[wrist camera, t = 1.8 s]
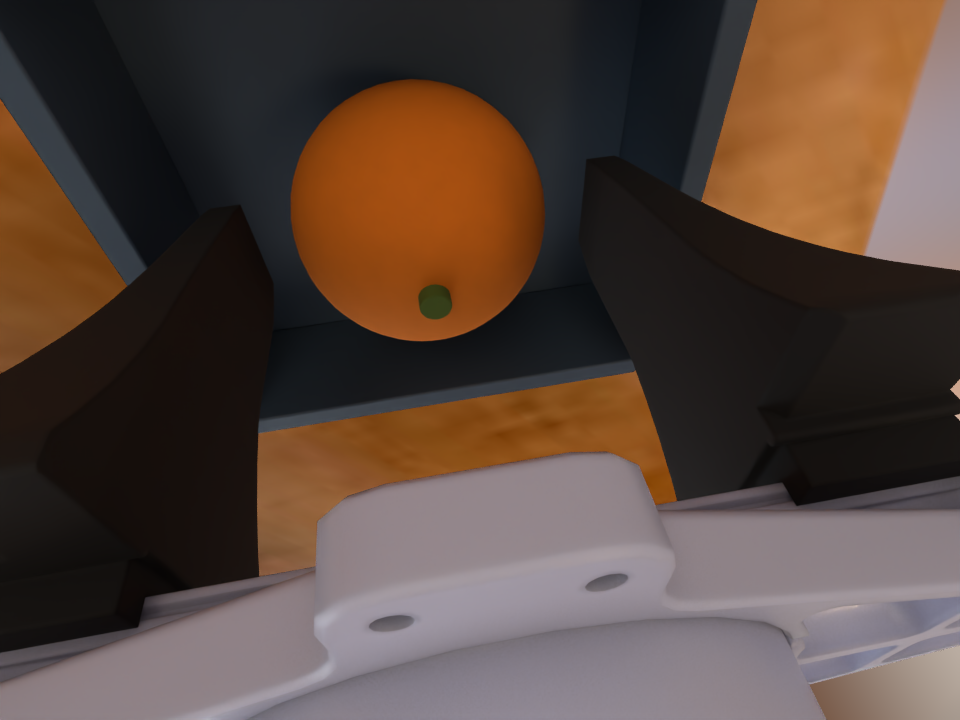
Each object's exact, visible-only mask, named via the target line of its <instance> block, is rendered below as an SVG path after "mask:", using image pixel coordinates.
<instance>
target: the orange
mask: <svg viewBox="0 0 960 720" xmlns="http://www.w3.org/2000/svg"><path fill="white" fill-rule="evenodd" d="M291 224H292V230H293V235H294V239H295V243H296V246H297V249H298V253H299V256H300V258H301V260H302V262H303V264H304V266H305V268H306V270H307V272H308V274H309V276H310V278H311V279H312V281H313V282H314V284H315V285H316V287H317V288H318V289H319V291H320V292H321V293H322V294H323V295H324V296H325V297H326V299H327V300H328V301H329V302H330V303H331V304H332V305H333V306H334V307H335V308H336V309H338V310H339V311H340V312H341V313H342V314H344V315H345V316H347V317H348V318H350V319H351V320H353V321H354V322H356V323H357V324H359V325H360V326H362V327H364V328H367V329H369V330H371V331H373V332H376V333H379V334H381V335H385V336H389V337H393V338H397V339H402V340H409V341H434V340H441V339H447V338H451V337H455V336H458V335H461V334H464V333H467V332H469V331H471V330H473V329H476V328H477V327H479V326H481V325H483V324H484V323H486V322H487V321H489V320H490V319H492V318H493V317H495V316H496V315H497V314H499V313H500V312H501V311H502V310H503V309H504V308H505V307H507V306H508V305H509V303H510V302H511V301H512V300H513V299H514V298H515V297H516V295H517V294H518V293H519V291H520V290H521V289H522V287H523V286H524V284H525V283H526V281H527V280H528V278H529V276H530V274H531V272H532V270H533V268H534V265H535V263H536V260H537V257H538V255H539V252H540V248H541V244H542V239H543V233H544V224H545V206H544V194H543V188H542V184H541V179H540V176H539V173H538V170H537V167H536V164H535V162H534V159H533V157H532V154H531V152H530V151H529V149H528V147H527V146H526V144H525V142H524V141H523V139H522V138H521V136H520V134H519V133H518V132H517V131H516V129H515V128H514V127H513V126H512V124H511V123H510V122H509V121H508V120H507V119H506V118H505V117H504V116H503V115H502V114H501V113H500V112H498V111H497V110H496V109H495V108H494V107H493V106H491V105H490V104H488V103H487V102H486V101H484V100H483V99H481V98H480V97H478V96H476V95H474V94H472V93H470V92H468V91H466V90H464V89H462V88H459V87H456V86H453V85H450V84H447V83H442V82H436V81H431V80H420V79H407V80H396V81H391V82H386V83H382V84H378V85H375V86H373V87H370V88H368V89H365V90H363V91H361V92H359V93H357V94H355V95H354V96H352V97H350V98H348V99H347V100H345V101H344V102H342V103H341V104H340V105H338V106H337V107H336V108H335V109H333V110H332V111H331V112H330V113H329V114H328V115H327V116H326V117H325V118H324V119H323V120H322V121H321V122H320V124H319V125H318V127H317V128H316V130H315V131H314V132H313V134H312V135H311V137H310V138H309V140H308V141H307V143H306V145H305V147H304V149H303V151H302V153H301V155H300V158H299V161H298V164H297V167H296V170H295V174H294V178H293V183H292V189H291Z"/></svg>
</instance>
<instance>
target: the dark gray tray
mask: <svg viewBox="0 0 960 720" xmlns="http://www.w3.org/2000/svg"><path fill="white" fill-rule="evenodd" d="M756 3H757V0H0V99H1V100H2V102H3V103H4V105H5V106H6V108H7V109H8V111H9V112H10V114H11V115H12V117H13V118H14V120H15V121H16V123H17V124H18V126H19V127H20V128H21V130H22V131H23V133H24V134H25V136H26V137H27V139H28V140H29V142H30V143H31V145H32V146H33V148H34V149H35V151H36V152H37V154H38V155H39V156H40V158H41V159H42V161H43V162H44V164H45V165H46V167H47V168H48V170H49V171H50V173H51V174H52V176H53V177H54V179H55V180H56V182H57V183H58V184H59V186H60V187H61V189H62V190H63V192H64V193H65V195H66V196H67V198H68V199H69V201H70V202H71V204H72V205H73V207H74V208H75V209H76V211H77V212H78V214H79V215H80V217H81V218H82V220H83V221H84V223H85V224H86V226H87V227H88V229H89V230H90V232H91V233H92V235H93V236H94V237H95V239H96V240H97V242H98V243H99V245H100V246H101V248H102V249H103V251H104V252H105V254H106V255H107V257H108V258H109V260H110V261H111V263H112V264H113V265H114V267H115V268H116V270H117V271H118V273H119V274H120V276H121V277H122V279H123V280H124V282H125V283H126V285H127V286H128V285H130V284H131V283H132V282H133V281H134V280H135V279H136V278H137V277H138V276H140V275H141V274H142V273H143V272H144V271H145V270H146V269H147V268H148V267H150V266H151V265H152V264H153V263H154V262H155V261H156V260H157V259H158V258H159V257H160V256H161V255H162V254H163V253H164V252H165V251H166V250H167V249H168V248H169V247H170V246H171V245H172V244H173V243H174V242H175V241H176V240H177V239H178V238H179V237H180V236H181V235H182V234H183V233H184V232H185V231H186V230H187V229H188V228H189V227H190V226H191V225H192V224H193V223H194V222H195V221H196V220H197V219H198V218H199V217H200V216H201V215H202V214H204V213H205V212H206V211H207V210H209V209H210V208H218V207H225V206H233V205H241V207H242V210H243V212H244V214H245V217H246V219H247V221H248V224H249V226H250V228H251V231H252V233H253V236H254V238H255V240H256V243H257V245H258V247H259V250H260V252H261V254H262V257H263V259H264V262H265V264H266V266H267V269H268V271H269V273H270V276H271V278H272V280H273V283H274V324H273V332H272V338H271V345H270V351H269V358H268V364H267V370H266V376H265V382H264V389H263V395H262V401H261V407H260V417H259V427H258V433H263V432H269V431H275V430H281V429H288V428H294V427H300V426H306V425H312V424H318V423H324V422H330V421H336V420H343V419H349V418H355V417H361V416H367V415H373V414H379V413H385V412H391V411H398V410H404V409H410V408H416V407H422V406H428V405H434V404H440V403H446V402H453V401H459V400H465V399H471V398H477V397H483V396H489V395H495V394H502V393H508V392H514V391H520V390H526V389H532V388H538V387H544V386H550V385H557V384H563V383H569V382H575V381H581V380H587V379H593V378H599V377H605V376H612V375H618V374H624V373H630V372H634V371H635V367H634V364H633V362H632V360H631V357H630V355H629V353H628V351H627V349H626V347H625V345H624V343H623V341H622V339H621V337H620V335H619V333H618V331H617V329H616V327H615V325H614V323H613V321H612V319H611V317H610V315H609V313H608V311H607V309H606V307H605V305H604V303H603V301H602V299H601V297H600V295H599V293H598V291H597V289H596V287H595V285H594V283H593V281H592V279H591V277H590V275H589V272H588V269H587V266H586V263H585V260H584V257H583V253H582V250H581V247H580V244H579V240H578V238H579V228H580V218H581V208H582V198H583V188H584V178H585V168H586V159H591V158H599V157H606V156H617V157H619V158H622V159H624V160H626V161H628V162H630V163H631V164H633V165H635V166H637V167H639V168H640V169H642V170H644V171H646V172H648V173H649V174H651V175H653V176H655V177H656V178H658V179H660V180H662V181H663V182H665V183H667V184H669V185H670V186H672V187H674V188H676V189H678V190H679V191H681V192H683V193H685V194H687V195H689V196H691V197H693V198H695V199H697V200H699V201H700V202H701V200H702V197H703V193H704V189H705V186H706V182H707V179H708V175H709V172H710V168H711V164H712V161H713V157H714V154H715V150H716V146H717V143H718V139H719V136H720V132H721V129H722V125H723V121H724V118H725V114H726V111H727V107H728V104H729V100H730V96H731V93H732V89H733V86H734V82H735V79H736V75H737V71H738V68H739V64H740V61H741V57H742V53H743V50H744V46H745V43H746V39H747V36H748V32H749V28H750V25H751V21H752V18H753V14H754V11H755V7H756ZM407 79H420V80H431V81H436V82H442V83H447V84H450V85H453V86H456V87H459V88H462V89H464V90H466V91H468V92H470V93H472V94H474V95H476V96H478V97H480V98H481V99H483V100H484V101H486V102H487V103H488V104H490V105H491V106H493V107H494V108H495V109H496V110H497V111H498V112H500V113H501V114H502V115H503V116H504V117H505V118H506V119H507V120H508V121H509V122H510V123H511V124H512V126H513V127H514V128H515V129H516V131H517V132H518V133H519V134H520V136H521V138H522V139H523V141H524V142H525V144H526V146H527V147H528V149H529V151H530V152H531V154H532V157H533V159H534V162H535V164H536V167H537V170H538V173H539V176H540V179H541V184H542V188H543V194H544V206H545V224H544V233H543V239H542V244H541V248H540V252H539V255H538V257H537V260H536V263H535V265H534V268H533V270H532V272H531V274H530V276H529V278H528V280H527V281H526V283H525V284H524V286H523V287H522V289H521V290H520V291H519V293H518V294H517V295H516V297H515V298H514V299H513V300H512V301H511V302H510V303H509V305H508V306H507V307H505V308H504V309H503V310H502V311H501V312H500V313H499V314H497V315H496V316H495V317H493V318H492V319H490V320H489V321H487V322H486V323H484V324H483V325H481V326H479V327H477V328H476V329H473V330H471V331H469V332H467V333H464V334H461V335H458V336H455V337H451V338H447V339H441V340H434V341H409V340H402V339H397V338H393V337H389V336H385V335H381V334H379V333H376V332H373V331H371V330H369V329H367V328H364V327H362V326H360V325H359V324H357V323H356V322H354V321H353V320H351V319H350V318H348V317H347V316H345V315H344V314H342V313H341V312H340V311H339V310H338V309H336V308H335V307H334V306H333V305H332V304H331V303H330V302H329V301H328V300H327V299H326V297H325V296H324V295H323V294H322V293H321V292H320V291H319V289H318V288H317V287H316V285H315V284H314V282H313V281H312V279H311V278H310V276H309V274H308V272H307V270H306V268H305V266H304V264H303V262H302V260H301V258H300V256H299V253H298V249H297V246H296V243H295V239H294V235H293V230H292V224H291V189H292V183H293V178H294V174H295V170H296V167H297V164H298V161H299V158H300V155H301V153H302V151H303V149H304V147H305V145H306V143H307V141H308V140H309V138H310V137H311V135H312V134H313V132H314V131H315V130H316V128H317V127H318V125H319V124H320V122H321V121H322V120H323V119H324V118H325V117H326V116H327V115H328V114H329V113H330V112H331V111H332V110H333V109H335V108H336V107H337V106H338V105H340V104H341V103H342V102H344V101H345V100H347V99H348V98H350V97H352V96H354V95H355V94H357V93H359V92H361V91H363V90H365V89H368V88H370V87H373V86H375V85H378V84H382V83H386V82H391V81H396V80H407Z"/></svg>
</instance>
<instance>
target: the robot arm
mask: <svg viewBox="0 0 960 720" xmlns="http://www.w3.org/2000/svg"><path fill="white" fill-rule="evenodd" d="M578 240H579V244H580V247H581V250H582V253H583V257H584V260H585V263H586V266H587V269H588V272H589V275H590V277H591V279H592V281H593V283H594V285H595V287H596V289H597V291H598V293H599V295H600V297H601V299H602V301H603V303H604V305H605V307H606V309H607V311H608V313H609V315H610V317H611V319H612V321H613V323H614V325H615V327H616V329H617V331H618V333H619V335H620V337H621V339H622V341H623V343H624V345H625V347H626V349H627V351H628V353H629V355H630V357H631V360H632V362H633V364H634V367H635V370H636V372H637V375H638V378H639V381H640V383H641V386H642V389H643V392H644V394H645V397H646V400H647V403H648V406H649V409H650V412H651V415H652V418H653V421H654V424H655V427H656V430H657V433H658V436H659V439H660V443H661V446H662V449H663V452H664V456H665V459H666V462H667V466H668V469H669V472H670V476H671V479H672V483H673V487H674V490H675V494H676V498H677V501H676V502H671V503H665V504H659V505H655V504H654V501H653V499H652V496H651V494H650V492H649V489H648V487H647V484H646V482H645V480H644V477H643V475H642V472H641V470H640V468H639V465H637V464H635V463H632V462H630V461H628V460H626V459H624V458H621V457H619V456H617V455H615V454H612V453H609V452H570V453H564V454H558V455H552V456H546V457H540V458H535V459H529V460H523V461H517V462H511V463H505V464H499V465H494V466H488V467H482V468H476V469H470V470H464V471H459V472H453V473H447V474H441V475H435V476H429V477H424V478H418V479H412V480H406V481H400V482H394V483H388V484H383V485H380V486H377V487H374V488H371V489H368V490H365V491H362V492H359V493H355V494H352V495H349V496H347V497H346V498H344V499H343V500H342V501H341V502H340V503H338V504H337V505H336V506H335V507H334V508H333V509H331V510H330V511H329V512H328V513H327V514H325V515H324V516H323V517H322V518H321V519H320V520H318V521H317V548H316V567H311V568H305V569H299V570H294V571H288V572H283V573H277V574H272V575H266V576H261V577H259V564H258V533H257V456H258V427H259V417H260V407H261V401H262V395H263V389H264V382H265V376H266V370H267V364H268V358H269V351H270V345H271V338H272V332H273V324H274V283H273V280H272V278H271V276H270V273H269V271H268V269H267V266H266V264H265V262H264V259H263V257H262V254H261V252H260V250H259V247H258V245H257V243H256V240H255V238H254V236H253V233H252V231H251V228H250V226H249V224H248V221H247V219H246V217H245V214H244V212H243V210H242V207H241V205H233V206H225V207H218V208H210V209H209V210H207V211H206V212H205V213H204V214H202V215H201V216H200V217H199V218H198V219H197V220H196V221H195V222H194V223H193V224H192V225H191V226H190V227H189V228H188V229H187V230H186V231H185V232H184V233H183V234H182V235H181V236H180V237H179V238H178V239H177V240H176V241H175V242H174V243H173V244H172V245H171V246H170V247H169V248H168V249H167V250H166V251H165V252H164V253H163V254H162V255H161V256H160V257H159V258H158V259H157V260H156V261H155V262H154V263H153V264H152V265H151V266H150V267H148V268H147V269H146V270H145V271H144V272H143V273H142V274H141V275H140V276H138V277H137V278H136V279H135V280H134V281H133V282H132V283H131V284H130V285H128V286H127V287H126V288H125V289H124V290H123V291H122V292H121V293H120V294H118V295H117V296H116V297H115V298H114V299H112V300H111V301H110V302H109V303H108V304H106V305H105V306H104V307H102V308H101V309H100V310H99V311H97V312H96V313H95V314H93V315H92V316H91V317H89V318H88V319H86V320H85V321H84V322H82V323H81V324H80V325H78V326H77V327H76V328H74V329H73V330H71V331H70V332H68V333H67V334H65V335H64V336H62V337H61V338H59V339H57V340H56V341H54V342H53V343H51V344H50V345H48V346H46V347H45V348H43V349H42V350H40V351H38V352H37V353H35V354H34V355H32V356H30V357H29V358H27V359H26V360H24V361H22V362H21V363H19V364H17V365H16V366H14V367H12V368H10V369H9V370H7V371H5V372H3V373H1V374H0V720H826V718H825V716H824V714H823V712H822V710H821V708H820V706H819V704H818V702H817V700H816V698H815V696H814V694H813V692H812V690H811V688H810V686H809V684H812V683H816V682H820V681H824V680H828V679H832V678H836V677H839V676H843V675H847V674H851V673H855V672H858V671H862V670H866V669H870V668H874V667H878V666H882V665H885V664H889V663H893V662H897V661H901V660H904V659H908V658H912V657H916V656H920V655H924V654H928V653H932V652H936V651H939V650H944V649H948V648H952V647H956V646H959V645H960V421H959V419H958V418H957V417H956V416H955V415H957V414H960V399H959V398H958V397H957V396H956V395H955V394H954V393H953V392H952V391H951V390H950V389H951V388H952V387H953V386H954V385H955V384H956V383H957V381H958V380H959V379H960V271H959V270H952V269H944V268H937V267H930V266H923V265H915V264H908V263H901V262H893V261H888V260H882V259H877V258H872V257H867V256H862V255H857V254H852V253H847V252H843V251H839V250H835V249H830V248H826V247H822V246H818V245H815V244H811V243H808V242H804V241H801V240H797V239H794V238H790V237H787V236H784V235H781V234H778V233H775V232H772V231H769V230H766V229H764V228H761V227H758V226H756V225H753V224H750V223H748V222H745V221H742V220H740V219H737V218H735V217H733V216H730V215H728V214H726V213H724V212H721V211H719V210H717V209H715V208H713V207H711V206H709V205H707V204H705V203H703V202H700V201H699V200H697V199H695V198H693V197H691V196H689V195H687V194H685V193H683V192H681V191H679V190H678V189H676V188H674V187H672V186H670V185H669V184H667V183H665V182H663V181H662V180H660V179H658V178H656V177H655V176H653V175H651V174H649V173H648V172H646V171H644V170H642V169H640V168H639V167H637V166H635V165H633V164H631V163H630V162H628V161H626V160H624V159H622V158H619V157H617V156H606V157H599V158H591V159H586V168H585V178H584V188H583V198H582V208H581V218H580V228H579V238H578Z"/></svg>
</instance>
